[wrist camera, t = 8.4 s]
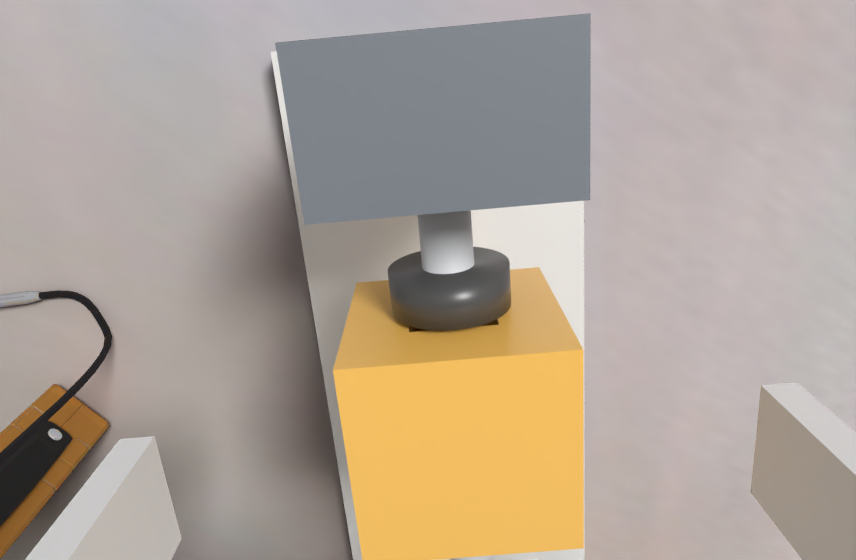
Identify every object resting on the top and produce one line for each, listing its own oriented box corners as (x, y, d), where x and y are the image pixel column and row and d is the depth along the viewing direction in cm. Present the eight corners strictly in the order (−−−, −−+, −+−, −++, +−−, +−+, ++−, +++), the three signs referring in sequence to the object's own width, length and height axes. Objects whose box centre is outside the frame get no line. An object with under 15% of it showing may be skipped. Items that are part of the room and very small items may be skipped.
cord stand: (578, 578, 29) (675, 907, 18) (364, 594, 30) (330, 929, 18) (575, 24, 21) (750, -3, 10) (278, 51, 21) (119, 56, 10)
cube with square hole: (543, 424, 19) (583, 548, 14) (377, 437, 19) (363, 565, 14) (539, 267, 17) (583, 349, 13) (356, 282, 17) (332, 370, 13)
